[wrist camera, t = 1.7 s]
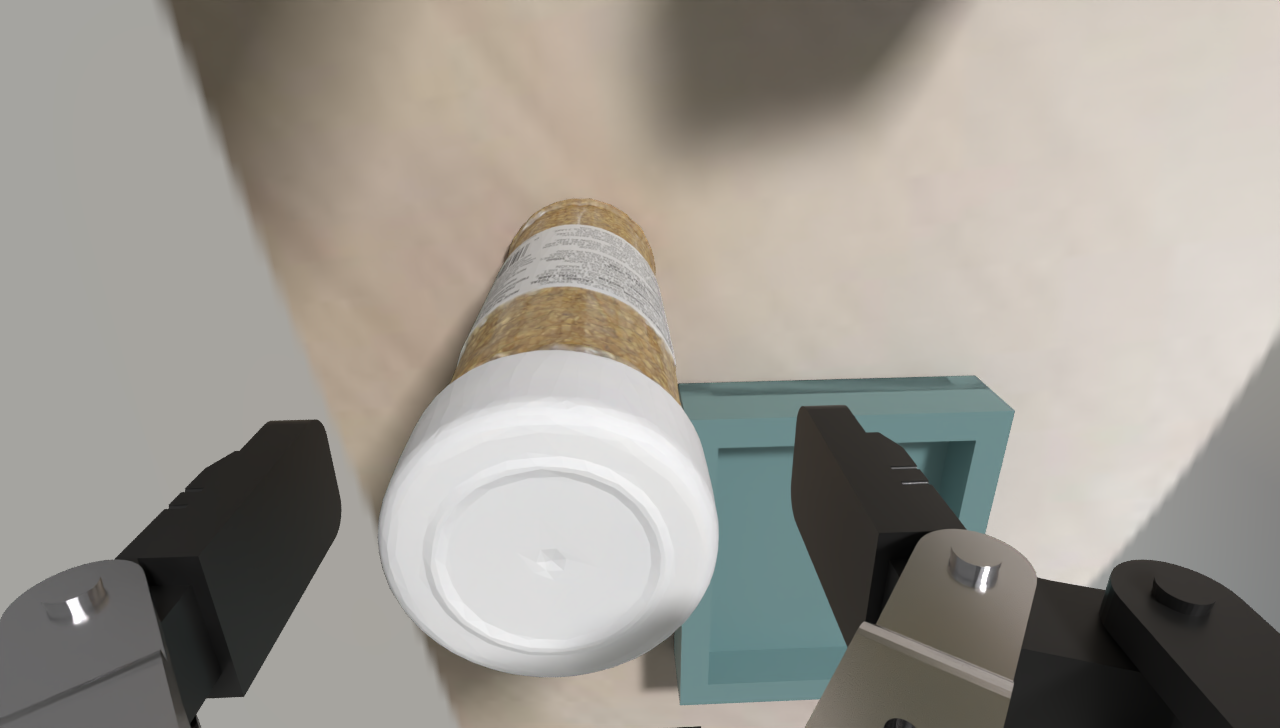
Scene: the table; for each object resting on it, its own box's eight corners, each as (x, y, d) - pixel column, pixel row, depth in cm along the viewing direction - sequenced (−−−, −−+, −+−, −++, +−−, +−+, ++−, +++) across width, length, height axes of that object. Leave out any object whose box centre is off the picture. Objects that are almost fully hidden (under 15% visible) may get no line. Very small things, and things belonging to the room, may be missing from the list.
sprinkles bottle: (584, 364, 22) (558, 738, 10) (475, 268, 21) (292, 572, 9) (687, 267, 21) (795, 560, 9) (579, 159, 20) (535, 332, 8)
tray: (678, 383, 23) (686, 420, 21) (974, 375, 23) (1014, 410, 21) (674, 651, 28) (680, 705, 26) (918, 641, 28) (946, 693, 26)
